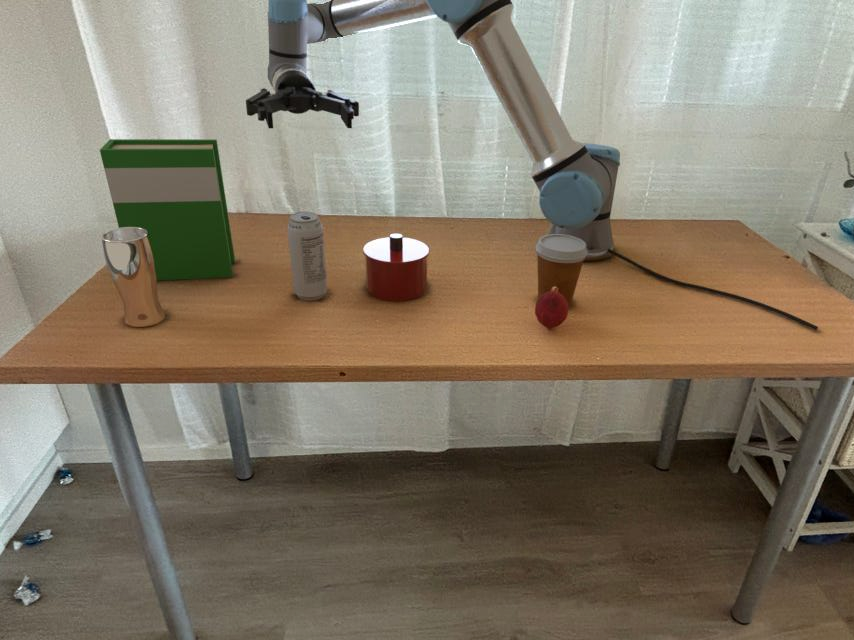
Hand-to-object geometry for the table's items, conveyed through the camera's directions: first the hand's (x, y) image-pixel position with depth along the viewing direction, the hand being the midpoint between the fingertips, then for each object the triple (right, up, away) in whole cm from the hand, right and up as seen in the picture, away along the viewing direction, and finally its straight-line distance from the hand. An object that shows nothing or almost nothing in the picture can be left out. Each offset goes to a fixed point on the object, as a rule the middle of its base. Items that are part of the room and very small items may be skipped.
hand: (310, 120), depth 113 cm
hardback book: (-27, -25, +12) cm, 39 cm away
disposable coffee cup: (+44, -31, +10) cm, 55 cm away
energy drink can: (-2, -30, +7) cm, 31 cm away
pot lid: (+14, -22, +7) cm, 27 cm away
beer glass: (-27, -35, -4) cm, 44 cm away
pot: (+14, -28, +11) cm, 33 cm away
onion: (+42, -37, +1) cm, 56 cm away
